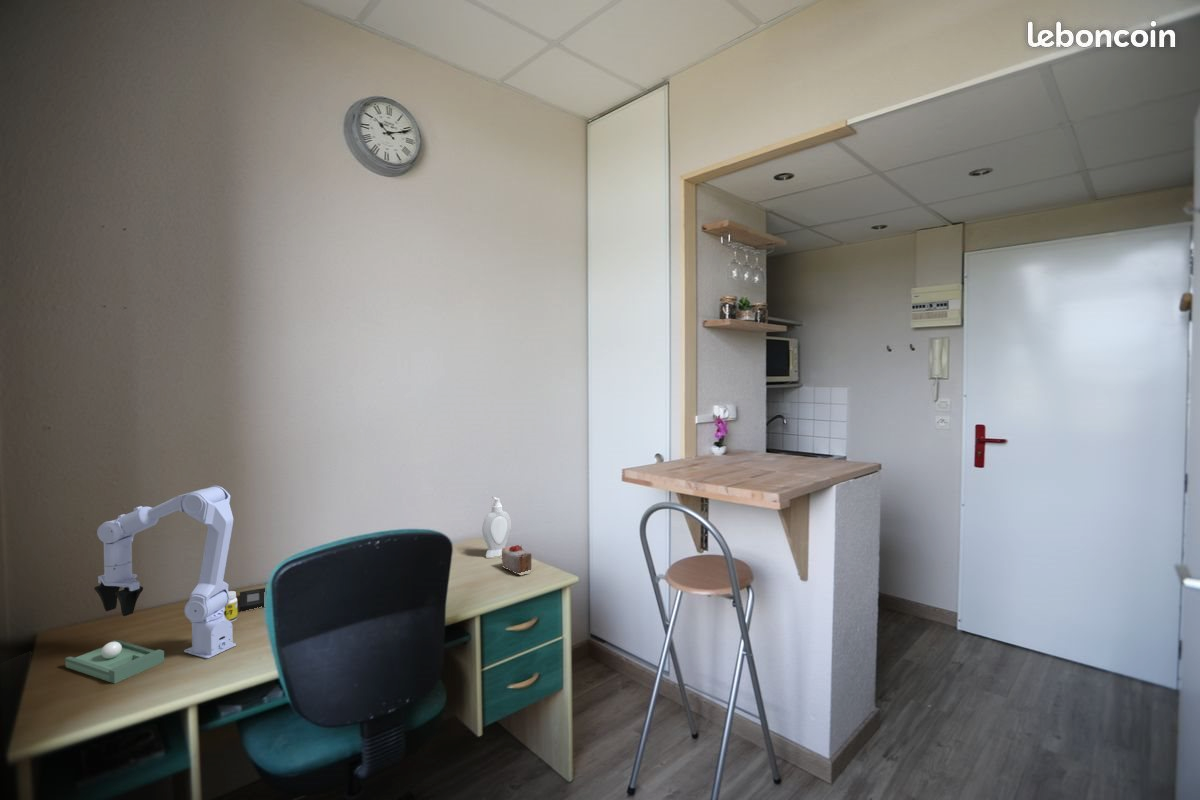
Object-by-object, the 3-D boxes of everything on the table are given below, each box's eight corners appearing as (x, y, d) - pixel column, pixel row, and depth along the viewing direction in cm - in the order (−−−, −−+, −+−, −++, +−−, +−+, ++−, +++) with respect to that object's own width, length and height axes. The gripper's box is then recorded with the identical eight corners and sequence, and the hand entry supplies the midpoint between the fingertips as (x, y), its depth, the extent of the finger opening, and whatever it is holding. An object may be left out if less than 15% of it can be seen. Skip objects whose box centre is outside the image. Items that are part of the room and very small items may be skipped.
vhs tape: (265, 593, 191) (265, 587, 190) (267, 608, 178) (267, 602, 178) (240, 597, 187) (239, 592, 186) (239, 613, 174) (239, 607, 174)
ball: (125, 655, 144) (125, 640, 144) (107, 662, 140) (106, 647, 140) (116, 652, 145) (115, 637, 145) (97, 659, 142) (97, 644, 141)
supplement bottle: (216, 624, 165) (215, 597, 165) (222, 618, 170) (221, 591, 170) (234, 622, 167) (234, 595, 166) (239, 616, 171) (239, 589, 171)
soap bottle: (506, 550, 240) (506, 494, 239) (513, 555, 233) (514, 498, 232) (477, 555, 233) (478, 497, 232) (484, 560, 226) (484, 501, 225)
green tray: (164, 661, 144) (164, 650, 144) (114, 683, 134) (114, 671, 133) (116, 647, 151) (116, 636, 151) (65, 667, 141) (65, 655, 141)
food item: (498, 567, 218) (498, 543, 218) (515, 563, 223) (515, 539, 223) (517, 577, 208) (517, 551, 207) (535, 573, 213) (535, 547, 213)
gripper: (151, 562, 151) (152, 610, 151) (118, 555, 156) (119, 602, 157) (121, 570, 144) (122, 621, 145) (88, 562, 150) (89, 611, 150)
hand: (119, 612), depth 150 cm, fingers open, 7 cm apart
